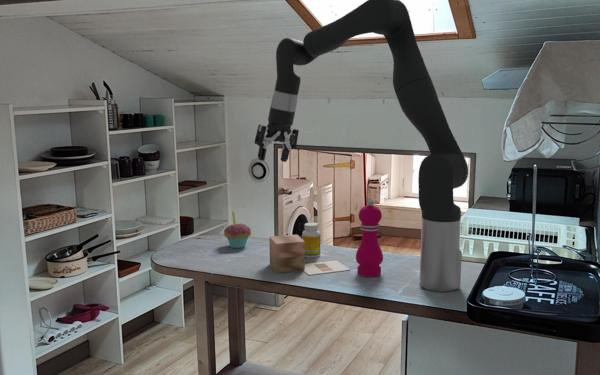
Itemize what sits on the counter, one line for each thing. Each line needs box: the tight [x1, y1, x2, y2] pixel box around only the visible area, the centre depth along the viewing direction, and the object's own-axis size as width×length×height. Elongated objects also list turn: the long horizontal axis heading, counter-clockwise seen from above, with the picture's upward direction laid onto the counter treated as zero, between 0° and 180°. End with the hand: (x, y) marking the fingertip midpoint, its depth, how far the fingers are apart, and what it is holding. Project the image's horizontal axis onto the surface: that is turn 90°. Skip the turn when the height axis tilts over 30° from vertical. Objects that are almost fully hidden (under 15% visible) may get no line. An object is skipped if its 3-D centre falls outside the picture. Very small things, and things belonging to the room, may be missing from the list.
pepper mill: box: [355, 199, 384, 278], centre depth 147 cm, size 7×7×20 cm
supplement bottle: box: [301, 222, 321, 259], centre depth 164 cm, size 5×5×10 cm
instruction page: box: [302, 260, 351, 276], centre depth 153 cm, size 12×9×1 cm
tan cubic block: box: [269, 234, 306, 274], centre depth 154 cm, size 8×8×8 cm
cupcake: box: [223, 209, 252, 249], centre depth 175 cm, size 9×8×12 cm
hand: (272, 160), depth 169 cm, fingers open, 8 cm apart
